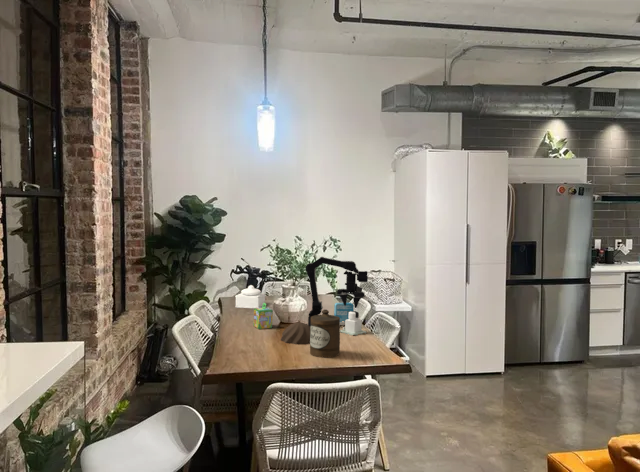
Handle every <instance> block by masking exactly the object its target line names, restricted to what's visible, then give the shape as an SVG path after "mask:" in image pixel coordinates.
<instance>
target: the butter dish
mask: <svg viewBox="0 0 640 472" xmlns="http://www.w3.org/2000/svg"><path fill="white" fill-rule="evenodd" d="M234 297H235V308H240V309H244V308H245V309H254V308H262V306H263V303H266V293H262V290H260V289H258V288H255V286H254V285H252V284H250V285H248V286H247V288H244V289H242V290H241V291H240V293H239V294H236V295H235V296H234Z"/></svg>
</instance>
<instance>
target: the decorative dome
mask: <svg viewBox="0 0 640 472" xmlns="http://www.w3.org/2000/svg"><path fill="white" fill-rule="evenodd" d="M310 333H311V327H310V326H308V323H304V322H300V321H298V322H294V323H291V324H290V325H288V326H287V327H286V328H285V329H284V330H283V331H282V335H281V338H280V341H281V342H284V344H293V345H308V344H310Z"/></svg>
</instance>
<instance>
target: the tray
mask: <svg viewBox="0 0 640 472" xmlns="http://www.w3.org/2000/svg"><path fill="white" fill-rule="evenodd" d="M344 333H345V335H348V334H349V335H348V336H352V335H355V336H359V335H358V334H360V335H364V334H363V333H365V334H367V331H366V330H363V329H361V332H358V333H350V332H346V331H345V330H343V329H340V334H344Z"/></svg>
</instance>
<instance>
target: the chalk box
mask: <svg viewBox="0 0 640 472" xmlns="http://www.w3.org/2000/svg"><path fill="white" fill-rule="evenodd" d="M273 313H274V310H273V309H272V308H271V307H267V303H266V302H265V303H263V306H262V307H260V308H253V327H254V328H256V329H258V330H263V329H264V330H265V329H273Z"/></svg>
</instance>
